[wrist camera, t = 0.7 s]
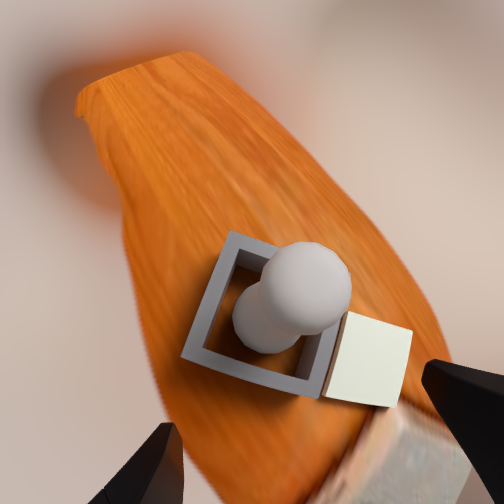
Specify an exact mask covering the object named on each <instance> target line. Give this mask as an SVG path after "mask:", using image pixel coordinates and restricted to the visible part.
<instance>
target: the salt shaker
mask: <svg viewBox="0 0 504 504" xmlns="http://www.w3.org/2000/svg"><path fill="white" fill-rule="evenodd" d="M351 290H352V284H351V281H350V277H349V273H348V270H347V267H346V266H345V264H344V263H343V262H342V261H341V260H340V258H339V257H338V256H337V255H336V254H335V252H333V251H331V250H330V249H328V248H326V247H324V246H322V245H320V244H319V243H313V242H296V243H293V244H291V245H288V246H286V247H283V248H281V249H279V250H278V251H277V252H276V253H275V254H274V255H273V256H272V258H271V259H270V260H269V261H268V262H267V263H266V265H265V266H264V267H263V271H262V275H261V279H260V281H259V282H257V283H255V284H253V285H252V286H250V287H248V288H246V289H245V291H244V292H243V293H242V294H241V295H240V297H239V298H238V299H237V300H236V303H235V306H234V310H233V313H232V320H233V324H234V329H235V333H236V334H237V335H238V337H239V338H240V339H241V341H242V342H243V344H244V345H245V346H247V347H249V348H251V349H253V350H255V351H257V352H259V353H272V354H277V353H280V352H282V351H284V350H286V349H288V348H290V347H292V346H293V345H294V343H295V342H296V341H297V340H298V338H299V337H300V336H301V335H317V334H319V333H321V332H323V331H324V330H326V329H328V328H330V327H331V326H333V325H335V324H336V323H337V322H338V321H339V320H340V318H341V317H342V315H343V314H344V313H345V311H346V310H347V308H348V307H349V305H350V298H351Z"/></svg>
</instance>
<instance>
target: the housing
mask: <svg viewBox="0 0 504 504" xmlns="http://www.w3.org/2000/svg"><path fill="white" fill-rule="evenodd" d="M279 249H281V248H279V247H277V246H274V245H271V244H268V243H265V242H262V241H260V240H257V239H254V238H251V237H248V236H245V235H242V234H240V233H237V232H234V231H231V230H230V232H229V234H228V236H227V239H226V241H225V244H224V246H223V249H222V251H221V254H220V256H219V258H218V261H217V263H216V266H215V268H214V271H213V273H212V276H211V278H210V281H209V283H208V286H207V288H206V291H205V294H204V296H203V299H202V301H201V304H200V306H199V309H198V312H197V314H196V317H195V319H194V322H193V325H192V327H191V330H190V332H189V335H188V338H187V340H186V343H185V346H184V348H183V351H182V354H181V357H182V358H184V359H187V360H189V361H192V362H194V363H197V364H200V365H202V366H205V367H208V368H211V369H213V370H216V371H219V372H222V373H225V374H228V375H231V376H234V377H237V378H240V379H243V380H246V381H250V382H253V383H256V384H260V385H263V386H266V387H270V388H274V389H277V390H281V391H285V392H289V393H293V394H297V395H301V396H306V397H310V398H315V399H318V398H319V395H320V392H321V389H322V385H323V382H324V379H325V376H326V372H327V369H328V366H329V362H330V359H331V355H332V351H333V348H334V344H335V340H336V336H337V332H338V328H339V324H340V320H341V318H340V320H339V321H338V322H337V323H336V324H335V325H333V326H331V327H330V328H328V329H326V330H324V331H323V332H321V333H319V334H317V335H307V337H306V340H305V343H304V347H303V350H302V354H301V357H300V360H299V363H298V366H297V370H296V373H295V376H294V377H291V376H288V375H284V374H280V373H277V372H273V371H270V370H267V369H263V368H260V367H257V366H253V365H250V364H247V363H244V362H241V361H238V360H235V359H232V358H229V357H226V356H223V355H221V354H218V353H215V352H212V351H209V350H207V349H205V348H206V345H207V343H208V340H209V337H210V335H211V332H212V329H213V326H214V324H215V321H216V318H217V316H218V313H219V310H220V308H221V305H222V302H223V299H224V297H225V294H226V291H227V289H228V286H229V283H230V281H231V278H232V275H233V273H234V270H235V267H236V265H237V266H240V267H243V268H245V269H248V270H251V271H254V272H257V273H260V274H262V271H263V267H264V266H265V265H266V263H267V262H268V261H269V260H270V259H271V258H272V256H273V255H274V254H275V253H276V252H277V251H278V250H279ZM348 273H349V272H348ZM349 277H350V273H349Z"/></svg>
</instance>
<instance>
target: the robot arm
mask: <svg viewBox="0 0 504 504" xmlns="http://www.w3.org/2000/svg"><path fill="white" fill-rule="evenodd" d="M421 382H422V385H423V387H424V389H425V390H426V392H427V394H428V396H429V398H430V399H431V401H432V403H433V405H434V407H435V409H436V410H437V412H438V414H439V415H440V417H441V418H442V419H443V421H444V422H445V424H446V425H447V427H448V428H449V430H450V431H451V433H452V434H453V436H454V437H455V439H456V440H457V442H458V443H459V445H460V446H461V448H462V449H463V451H464V452H465V454H466V456H467V457H468V459H469V460H470V462H471V463H472V465H473V467H474V468H475V470H476V472H477V473H478V474H479V477H480V478H481V479H482V482H483V483H484V485H485V487H486V489H487V490H488V492H489V494H490V496H491V497H492V499H493V501H494V503H495V504H504V375H499V374H494V373H490V372H486V371H481V370H477V369H473V368H469V367H465V366H461V365H457V364H453V363H449V362H445V361H442V360H438V359H433V360H430V361H428V362H427V363H426V364H425V366H424V370H423V374H422V378H421ZM183 489H184V468H183V445H182V438H181V436H180V434H179V432H178V430H177V428H176V426H175V424H174V423H172V422H167V423H161V424H160V425H159V426H158V427H157V428H156V430H155V431H154V432H153V433H152V434H151V435H150V436H149V438H148V439H147V440H146V441H145V442H144V443H143V445H142V446H141V447H140V448H139V449H138V451H136V453H135V454H134V455H133V456H132V457H131V458H130V459H129V461H127V463H126V464H125V465H124V466H123V467H122V468H121V469H120V470H119V472H117V474H116V475H115V476H114V477H113V478H112V479H111V480H110V481H109V482H108V483H107V485H105V487H104V489H102V490H101V491H100V492H99V493H98V494H97V495H96V496H95V497H94V498H93V499H92V500H91V501H90V502H89V503H88V504H182V503H183Z"/></svg>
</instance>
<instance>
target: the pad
mask: <svg viewBox="0 0 504 504" xmlns="http://www.w3.org/2000/svg"><path fill="white" fill-rule="evenodd" d="M412 333H413V331H411V330H408V329H404V328H401V327H398V326H395V325H391V324H388V323H385V322H382V321H378V320H375V319H372V318H369V317H366V316H363V315H359V314H356V313H353V312H350V311H347V312H345V313H344V315H343V319H342V324H341V328H340V332H339V336H338V340H337V343H336V347H335V351H334V355H333V358H332V362H331V365H330V369H329V372H328V376H327V379H326V382H325V385H324V389H323V392H322V396H325V397H330V398H335V399H341V400H346V401H352V402H358V403H364V404H371V405H378V406H385V407H394V408H396V405H397V401H398V398H399V394H400V390H401V387H402V383H403V378H404V374H405V370H406V365H407V361H408V356H409V350H410V345H411V339H412Z"/></svg>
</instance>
